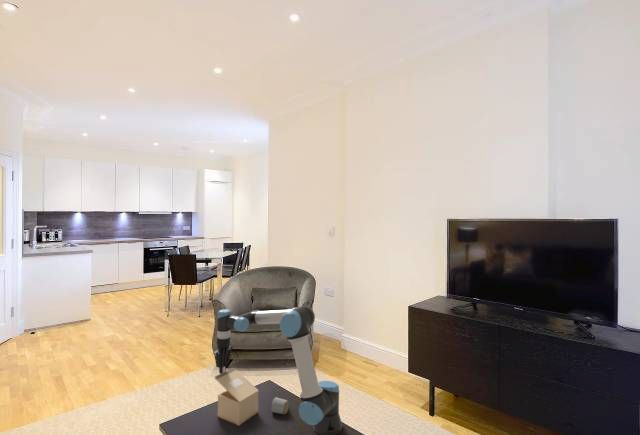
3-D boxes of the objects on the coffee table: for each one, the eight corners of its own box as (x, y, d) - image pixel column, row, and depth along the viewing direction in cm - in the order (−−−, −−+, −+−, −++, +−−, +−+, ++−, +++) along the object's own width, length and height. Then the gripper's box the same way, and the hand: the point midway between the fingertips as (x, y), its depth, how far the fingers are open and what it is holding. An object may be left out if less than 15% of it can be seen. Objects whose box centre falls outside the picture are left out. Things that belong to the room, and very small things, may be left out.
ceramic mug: (284, 417, 193) (284, 403, 194) (270, 414, 196) (271, 400, 196) (291, 408, 204) (291, 394, 204) (278, 405, 206) (278, 392, 206)
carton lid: (258, 391, 198) (258, 390, 197) (239, 402, 185) (240, 401, 185) (233, 368, 208) (234, 367, 208) (214, 378, 195) (214, 376, 195)
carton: (258, 412, 198) (258, 391, 198) (238, 425, 185) (239, 403, 185) (237, 404, 206) (237, 384, 206) (217, 416, 193) (218, 394, 193)
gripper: (227, 332, 210) (226, 372, 210) (210, 338, 199) (208, 380, 199) (236, 335, 206) (235, 375, 206) (219, 341, 195) (218, 384, 195)
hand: (222, 377), depth 202 cm, fingers closed
